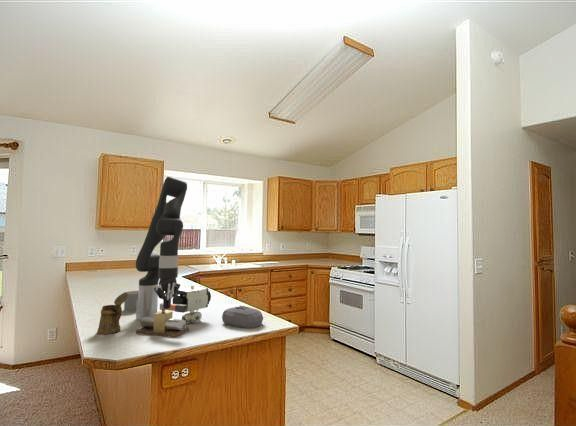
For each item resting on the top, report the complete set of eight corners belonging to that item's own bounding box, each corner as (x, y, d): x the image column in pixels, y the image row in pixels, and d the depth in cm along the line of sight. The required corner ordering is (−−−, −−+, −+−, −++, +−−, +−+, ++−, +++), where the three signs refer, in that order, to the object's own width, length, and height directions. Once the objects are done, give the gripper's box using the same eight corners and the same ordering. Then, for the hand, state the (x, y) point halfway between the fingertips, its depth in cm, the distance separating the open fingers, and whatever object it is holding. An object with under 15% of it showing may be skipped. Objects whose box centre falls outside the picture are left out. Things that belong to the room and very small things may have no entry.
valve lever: (157, 309, 146) (158, 303, 146) (163, 308, 149) (163, 302, 149) (182, 312, 141) (182, 306, 141) (187, 311, 144) (187, 304, 144)
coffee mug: (132, 312, 182) (133, 294, 182) (120, 310, 186) (120, 292, 186) (151, 307, 194) (152, 290, 194) (139, 306, 198) (140, 289, 199)
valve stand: (135, 333, 144) (136, 310, 145) (150, 327, 154) (151, 306, 154) (175, 337, 139) (176, 313, 139) (188, 330, 148) (189, 308, 149)
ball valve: (181, 327, 153) (182, 289, 154) (171, 324, 158) (172, 287, 159) (212, 319, 167) (213, 284, 168) (202, 317, 172) (202, 282, 173)
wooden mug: (115, 337, 139) (116, 293, 140) (92, 333, 144) (94, 291, 145) (132, 331, 147) (133, 290, 148) (109, 328, 152) (111, 288, 153)
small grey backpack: (217, 324, 159) (250, 331, 148) (218, 307, 159) (250, 312, 149) (238, 318, 172) (269, 323, 161) (238, 301, 172) (270, 306, 162)
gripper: (163, 268, 130) (161, 313, 129) (186, 265, 142) (185, 306, 141) (149, 267, 133) (147, 311, 132) (172, 264, 145) (171, 304, 144)
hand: (166, 308), depth 136 cm, fingers closed
